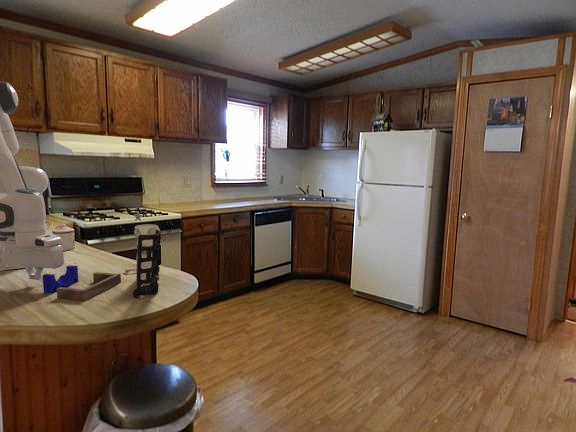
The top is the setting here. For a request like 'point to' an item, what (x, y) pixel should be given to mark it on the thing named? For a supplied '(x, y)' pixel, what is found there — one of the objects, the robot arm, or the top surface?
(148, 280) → the holder
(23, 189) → the robot arm
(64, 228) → the teacup with lid
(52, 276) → the cable clip
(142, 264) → the water bottle
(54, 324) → the top surface
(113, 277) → the bracket
